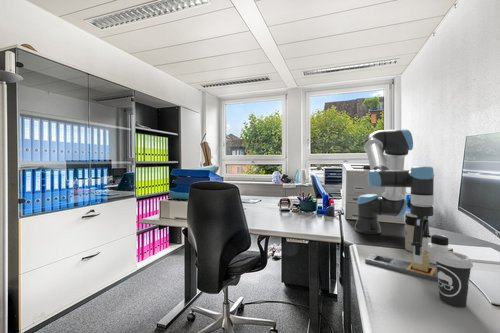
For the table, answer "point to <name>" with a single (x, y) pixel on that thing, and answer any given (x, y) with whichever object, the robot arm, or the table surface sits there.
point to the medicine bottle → (438, 246)
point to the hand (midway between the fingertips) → (421, 257)
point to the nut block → (423, 263)
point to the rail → (401, 266)
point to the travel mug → (409, 231)
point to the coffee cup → (453, 277)
